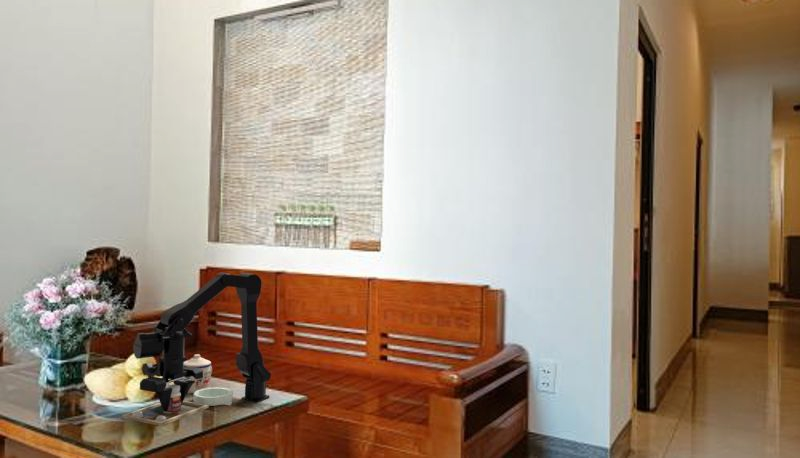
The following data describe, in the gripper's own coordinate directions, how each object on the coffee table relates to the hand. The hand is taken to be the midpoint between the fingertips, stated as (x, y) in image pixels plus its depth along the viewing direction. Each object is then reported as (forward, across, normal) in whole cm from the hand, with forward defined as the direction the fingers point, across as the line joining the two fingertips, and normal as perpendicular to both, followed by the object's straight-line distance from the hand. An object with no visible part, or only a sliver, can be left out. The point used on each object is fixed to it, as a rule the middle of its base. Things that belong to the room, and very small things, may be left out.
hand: (172, 408), depth 169 cm
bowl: (+2, -14, +3) cm, 14 cm away
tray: (+2, +2, 0) cm, 3 cm away
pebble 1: (0, +8, -4) cm, 9 cm away
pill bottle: (+2, 0, 0) cm, 2 cm away
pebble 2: (0, +8, +4) cm, 9 cm away
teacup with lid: (+2, -25, -13) cm, 28 cm away
